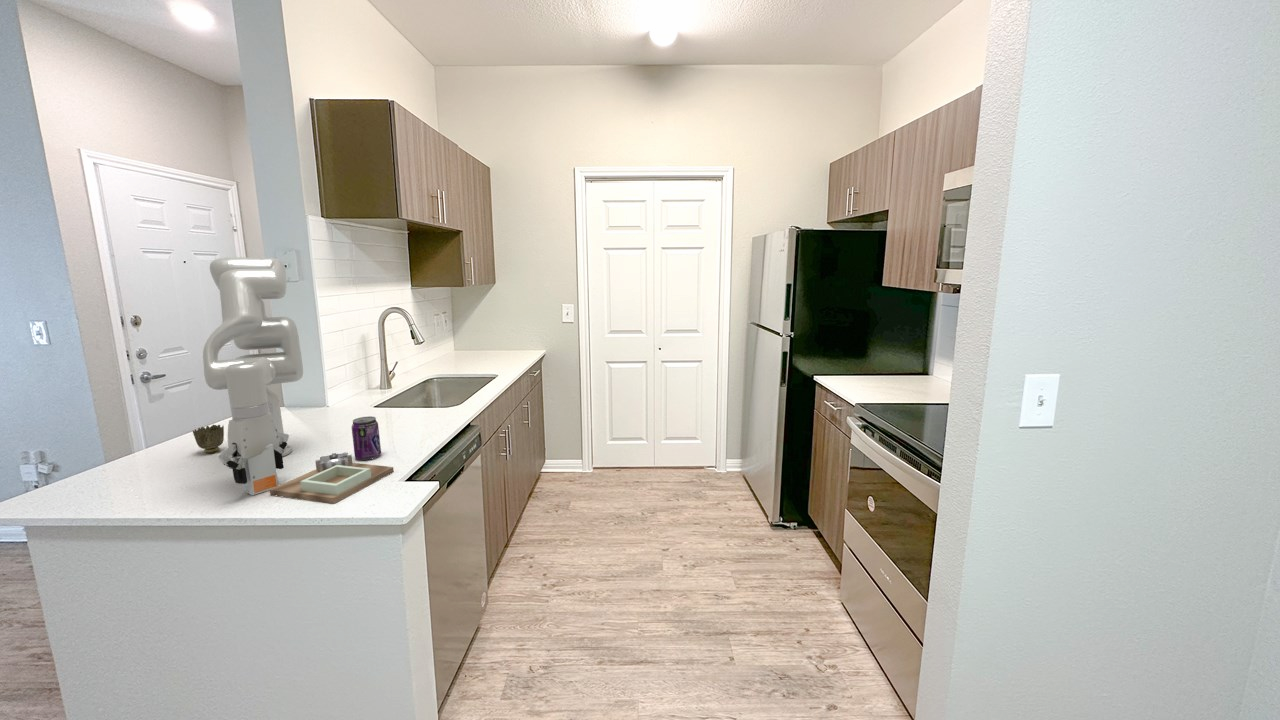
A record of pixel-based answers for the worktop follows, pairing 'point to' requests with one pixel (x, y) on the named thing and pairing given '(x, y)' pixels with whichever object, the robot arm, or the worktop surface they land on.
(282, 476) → the worktop surface
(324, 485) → the green square frame
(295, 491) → the carrier plate
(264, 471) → the skincare box
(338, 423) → the worktop surface
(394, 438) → the worktop surface
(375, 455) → the beverage can
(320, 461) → the sun gear
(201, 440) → the cup
